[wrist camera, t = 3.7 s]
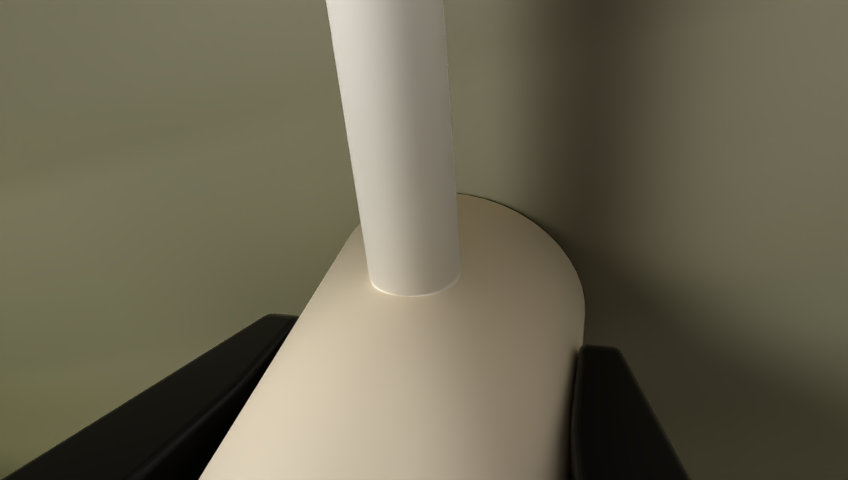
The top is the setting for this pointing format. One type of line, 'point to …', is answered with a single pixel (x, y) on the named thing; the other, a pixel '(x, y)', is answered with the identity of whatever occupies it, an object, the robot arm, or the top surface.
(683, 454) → the top surface
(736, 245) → the top surface
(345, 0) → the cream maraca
